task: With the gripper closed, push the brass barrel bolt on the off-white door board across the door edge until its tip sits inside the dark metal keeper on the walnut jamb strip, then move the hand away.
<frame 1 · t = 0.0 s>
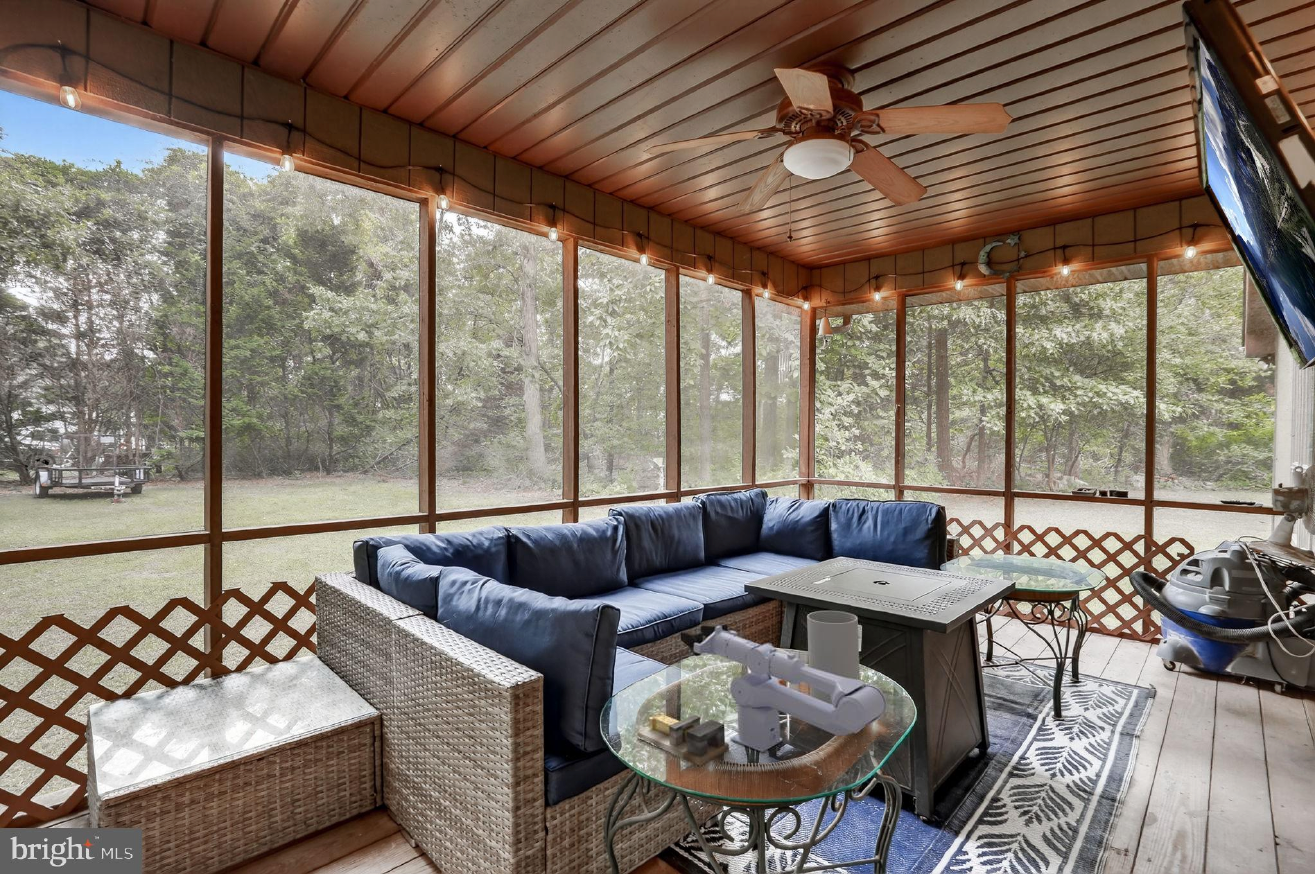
hand: (691, 632, 166), 22 cm above the table, tool horizontal, fingers open, 7 cm apart
latch board: (682, 744, 150), on the table
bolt: (672, 727, 153), point 3 cm above the table, slide at 0.0 cm
cylinder vase: (835, 715, 164), on the table
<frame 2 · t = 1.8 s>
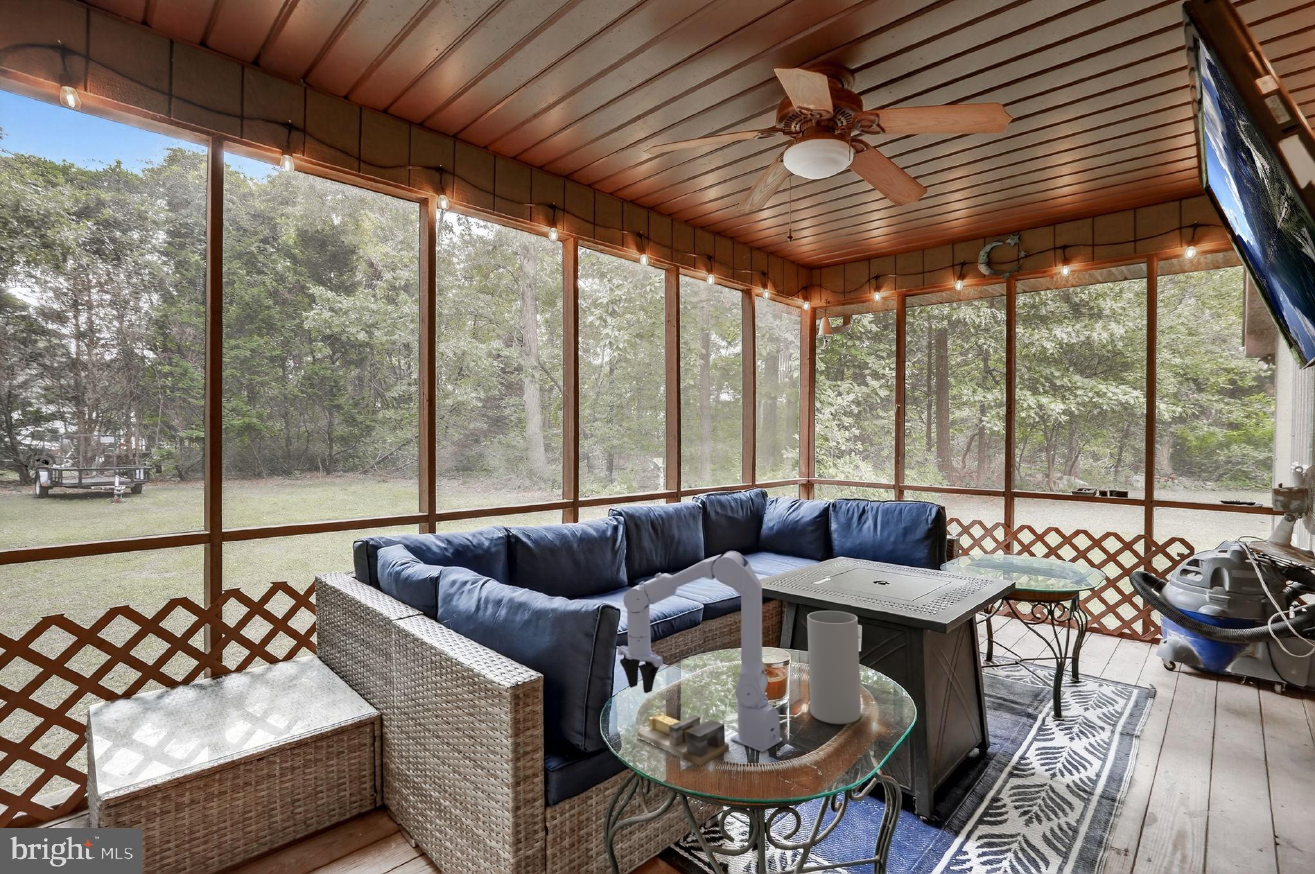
hand: (640, 689, 161), 9 cm above the table, tool pointing down, fingers open, 5 cm apart
nothing on the table moved.
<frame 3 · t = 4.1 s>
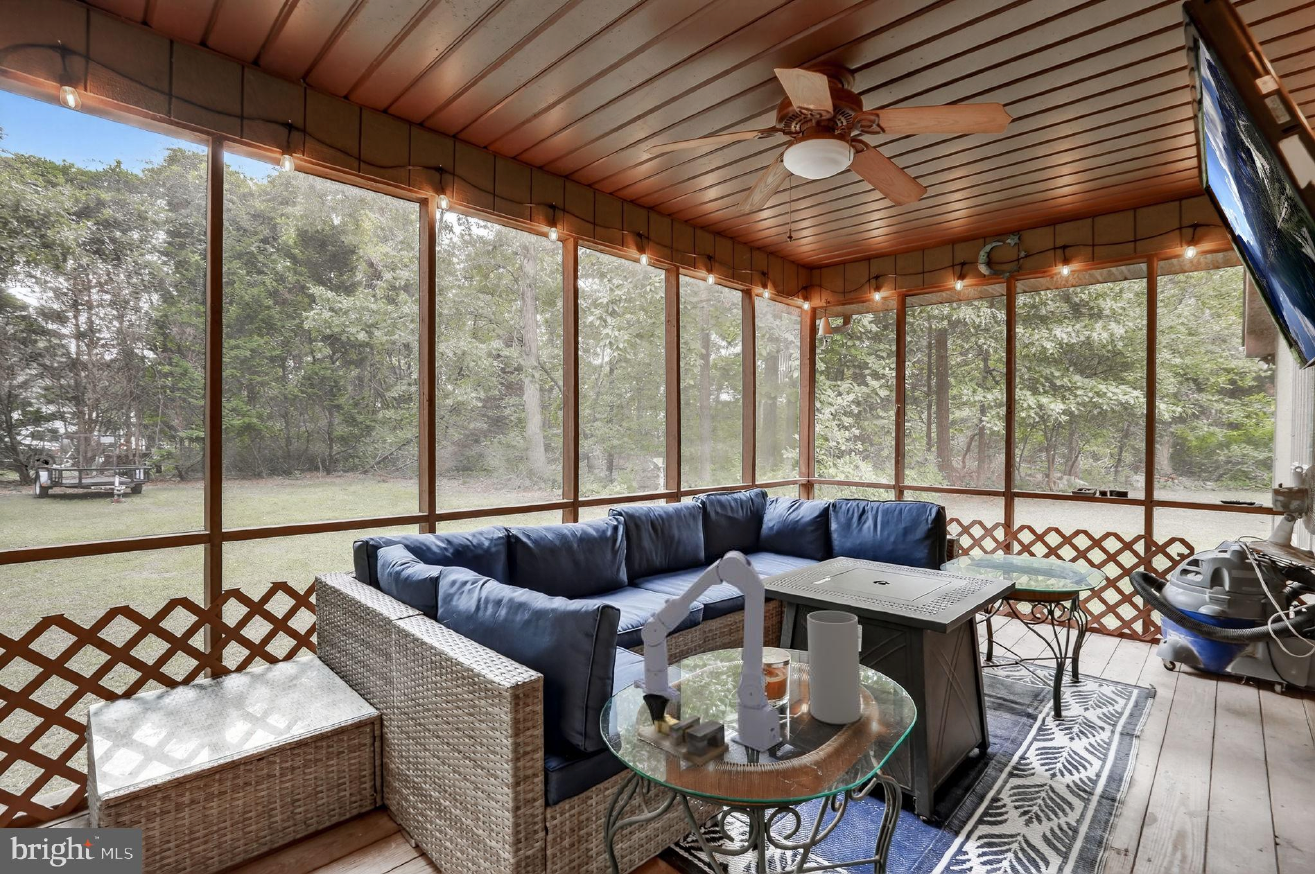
hand: (657, 723, 156), 2 cm above the table, tool pointing down, fingers closed
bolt: (678, 729, 151), point 3 cm above the table, slide at 2.0 cm, touching gripper
everything else where it was.
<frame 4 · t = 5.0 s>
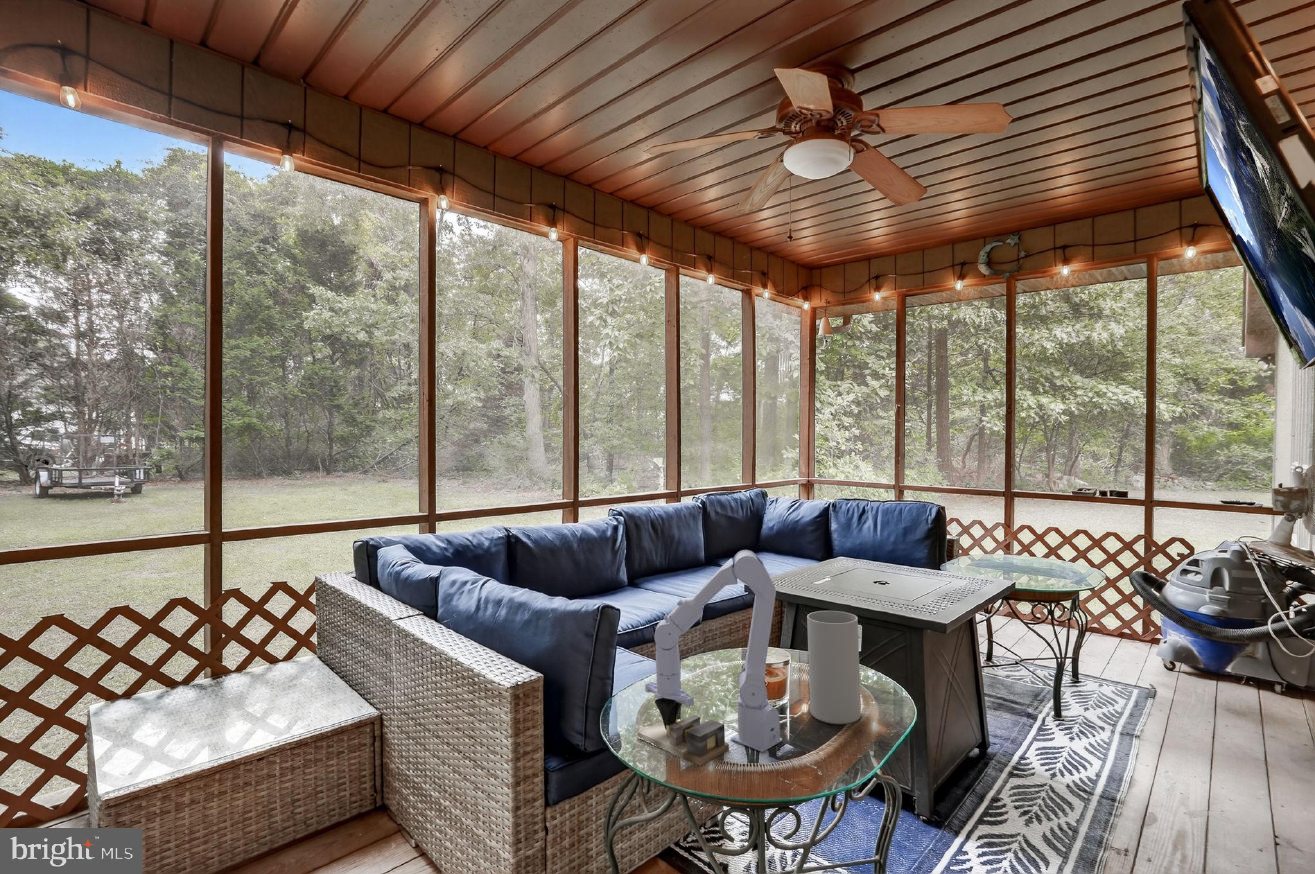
hand: (669, 728, 153), 2 cm above the table, tool pointing down, fingers closed
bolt: (691, 735, 148), point 3 cm above the table, slide at 6.1 cm, touching gripper
everything else where it was.
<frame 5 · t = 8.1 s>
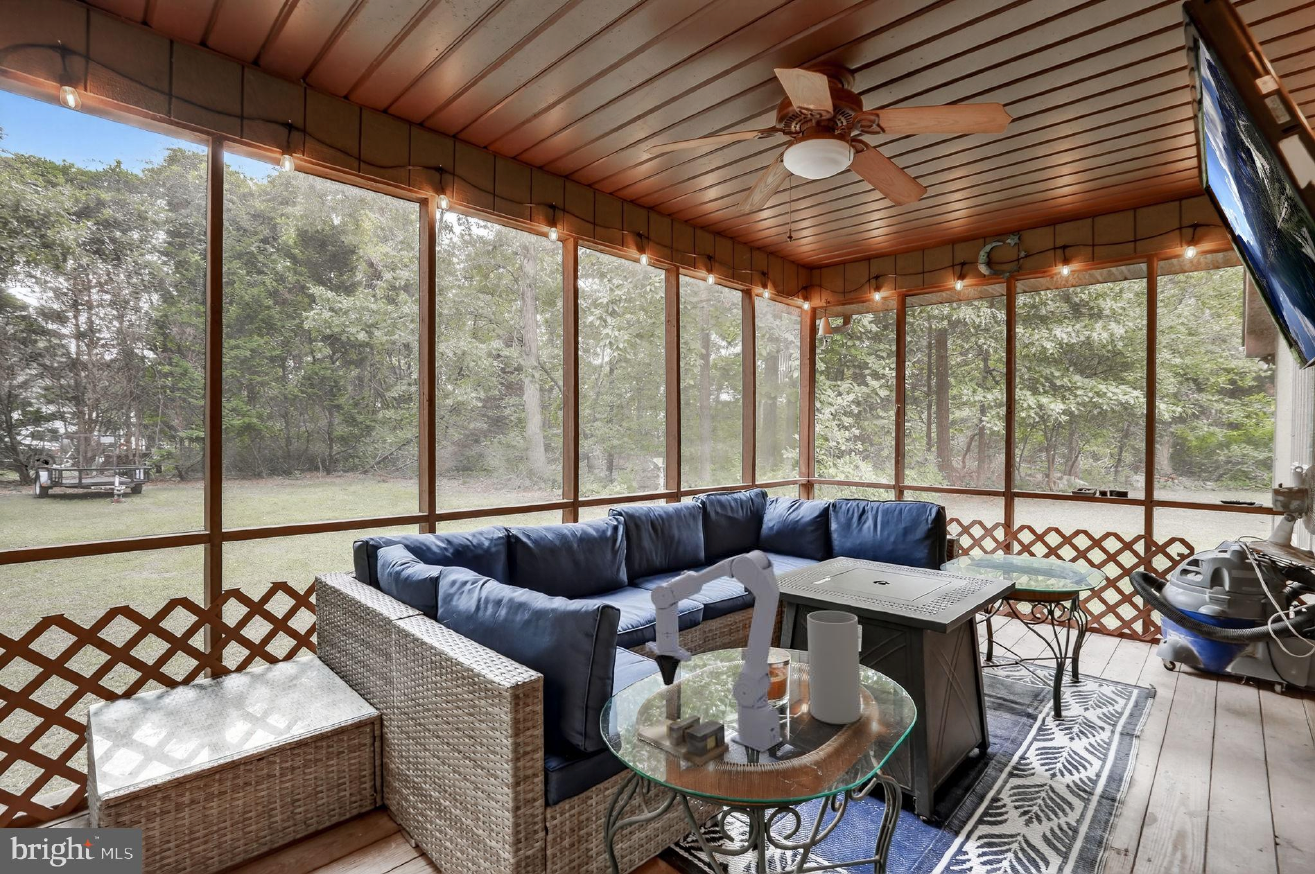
hand: (668, 684, 163), 9 cm above the table, tool pointing down, fingers closed
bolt: (691, 735, 148), point 3 cm above the table, slide at 6.0 cm
everything else where it was.
at the end: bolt slide at 6.0 cm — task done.
